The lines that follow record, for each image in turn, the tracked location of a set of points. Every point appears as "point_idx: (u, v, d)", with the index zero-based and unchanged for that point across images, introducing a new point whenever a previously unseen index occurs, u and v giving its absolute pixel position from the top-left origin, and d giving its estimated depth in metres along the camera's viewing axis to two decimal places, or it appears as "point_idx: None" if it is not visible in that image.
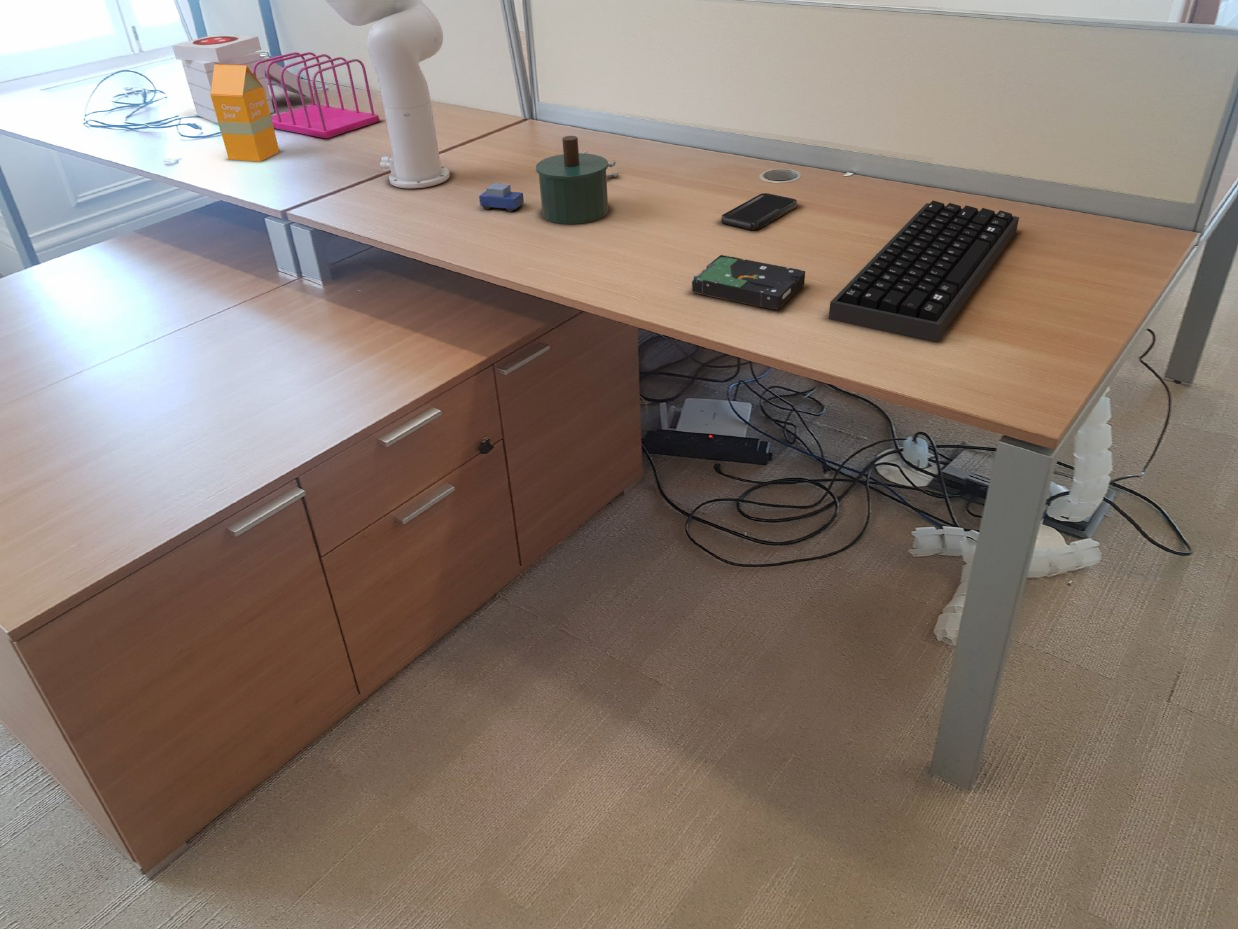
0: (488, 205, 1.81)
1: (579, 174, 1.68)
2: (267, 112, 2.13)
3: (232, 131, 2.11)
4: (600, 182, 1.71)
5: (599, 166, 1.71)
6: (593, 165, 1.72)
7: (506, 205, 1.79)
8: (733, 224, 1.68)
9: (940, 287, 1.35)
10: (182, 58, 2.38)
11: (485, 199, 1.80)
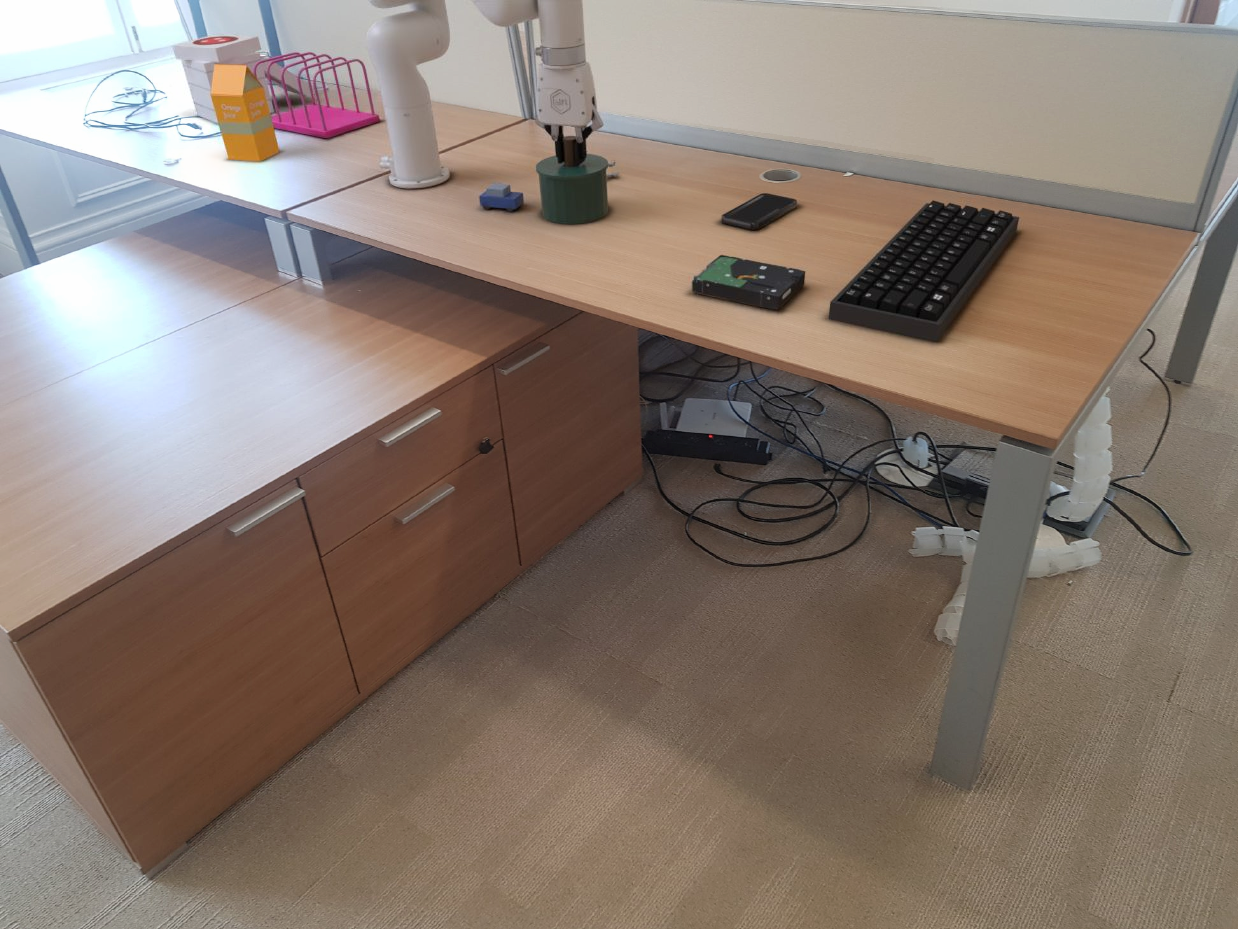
0: (488, 205, 1.81)
1: (579, 174, 1.68)
2: (267, 112, 2.13)
3: (232, 131, 2.11)
4: (600, 182, 1.71)
5: (599, 166, 1.71)
6: (593, 165, 1.72)
7: (506, 205, 1.79)
8: (733, 224, 1.68)
9: (940, 287, 1.35)
10: (182, 58, 2.38)
11: (485, 199, 1.80)
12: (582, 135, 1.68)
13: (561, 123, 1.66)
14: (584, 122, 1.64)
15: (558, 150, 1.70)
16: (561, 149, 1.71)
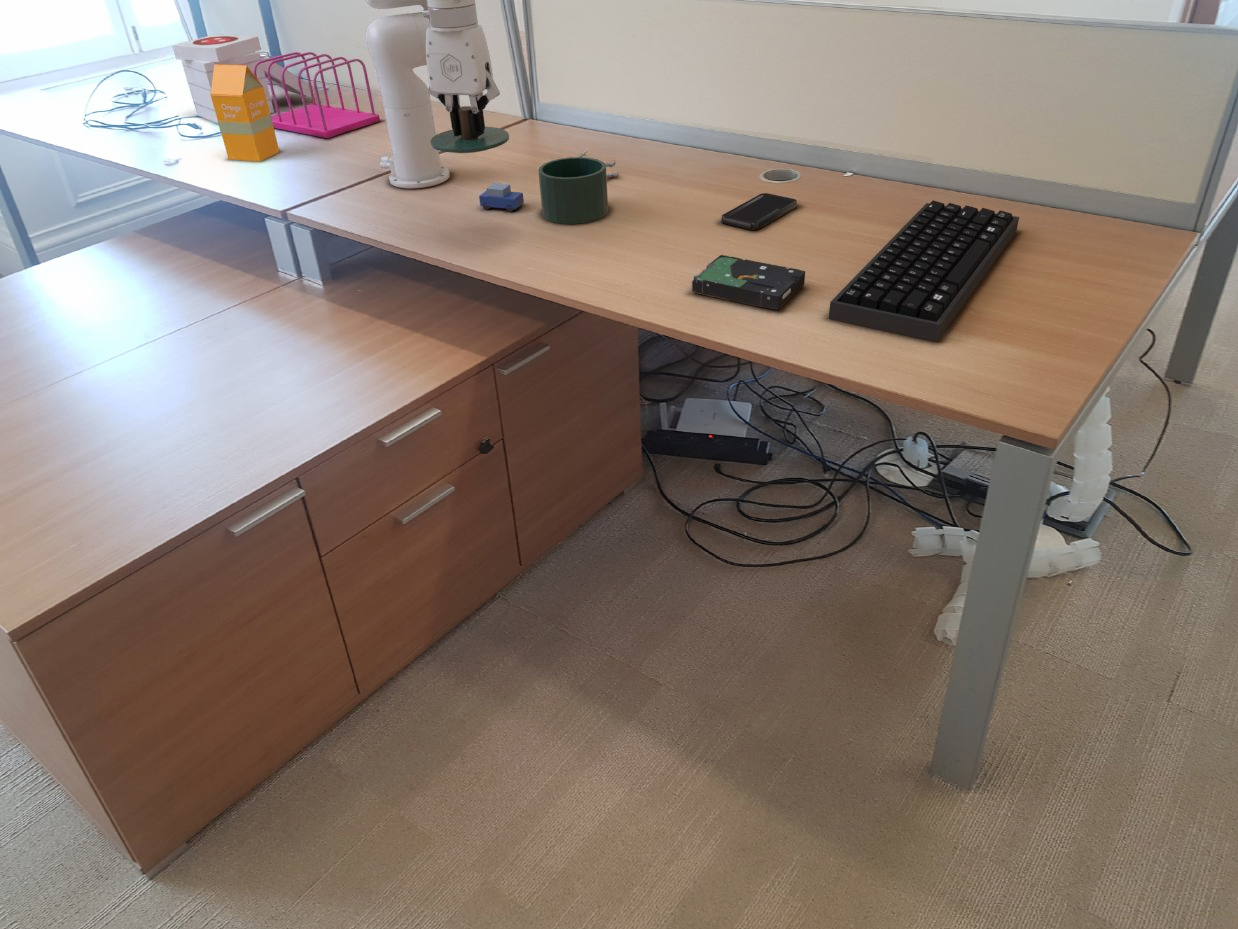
0: (488, 205, 1.81)
1: (474, 147, 1.55)
2: (267, 112, 2.13)
3: (232, 131, 2.11)
4: (600, 182, 1.71)
5: (497, 139, 1.58)
6: (492, 138, 1.59)
7: (506, 205, 1.79)
8: (733, 224, 1.68)
9: (940, 287, 1.35)
10: (182, 58, 2.38)
11: (485, 199, 1.80)
12: (477, 105, 1.55)
13: (453, 92, 1.53)
14: (477, 90, 1.52)
15: (453, 122, 1.58)
16: (457, 121, 1.58)
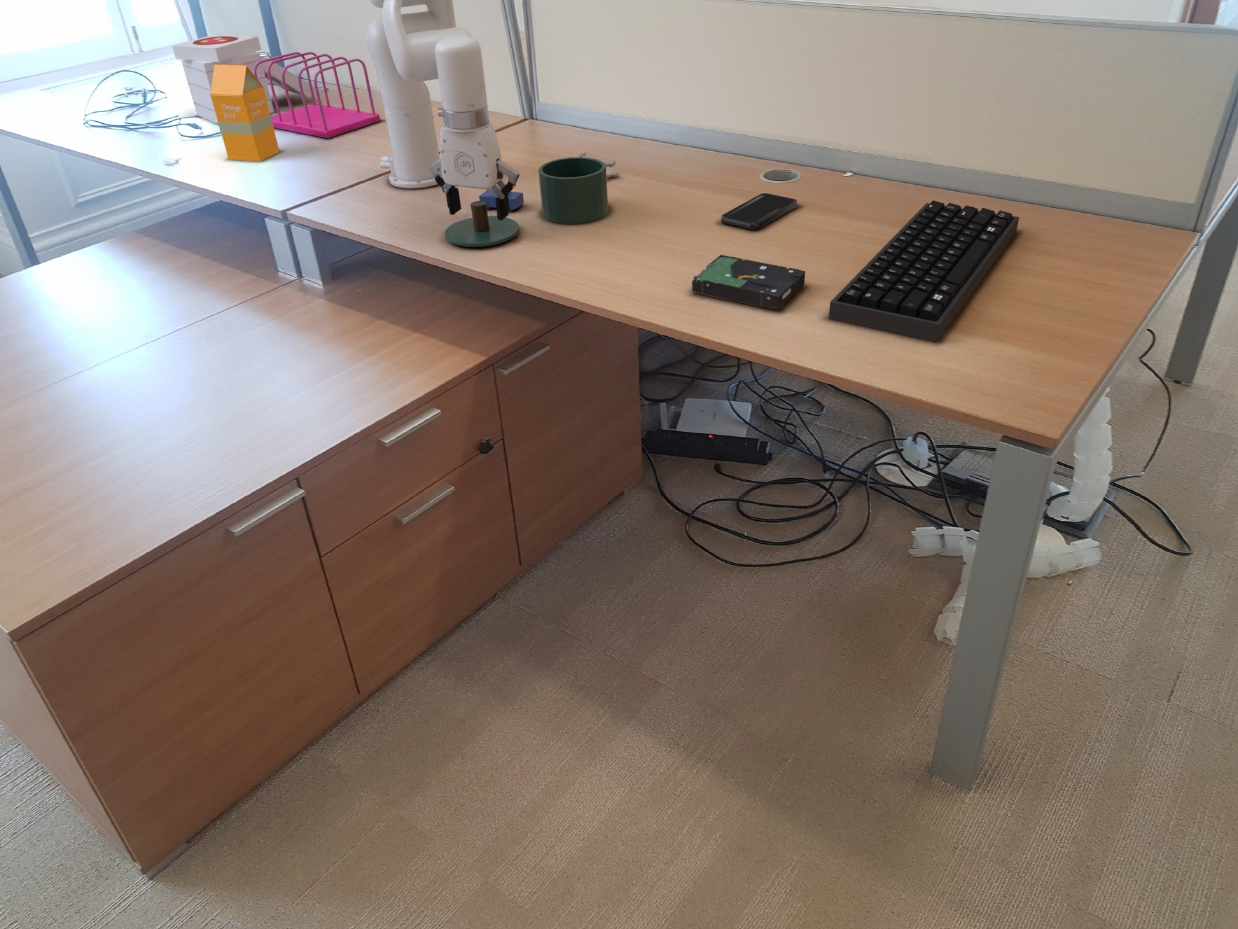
0: (488, 205, 1.81)
1: (486, 241, 1.65)
2: (267, 112, 2.13)
3: (232, 131, 2.11)
4: (600, 182, 1.71)
5: (508, 232, 1.68)
6: (503, 230, 1.68)
7: None
8: (733, 224, 1.68)
9: (940, 287, 1.35)
10: (182, 58, 2.38)
11: (485, 199, 1.80)
12: (500, 190, 1.63)
13: (466, 185, 1.63)
14: (488, 185, 1.61)
15: (449, 202, 1.67)
16: (452, 201, 1.68)
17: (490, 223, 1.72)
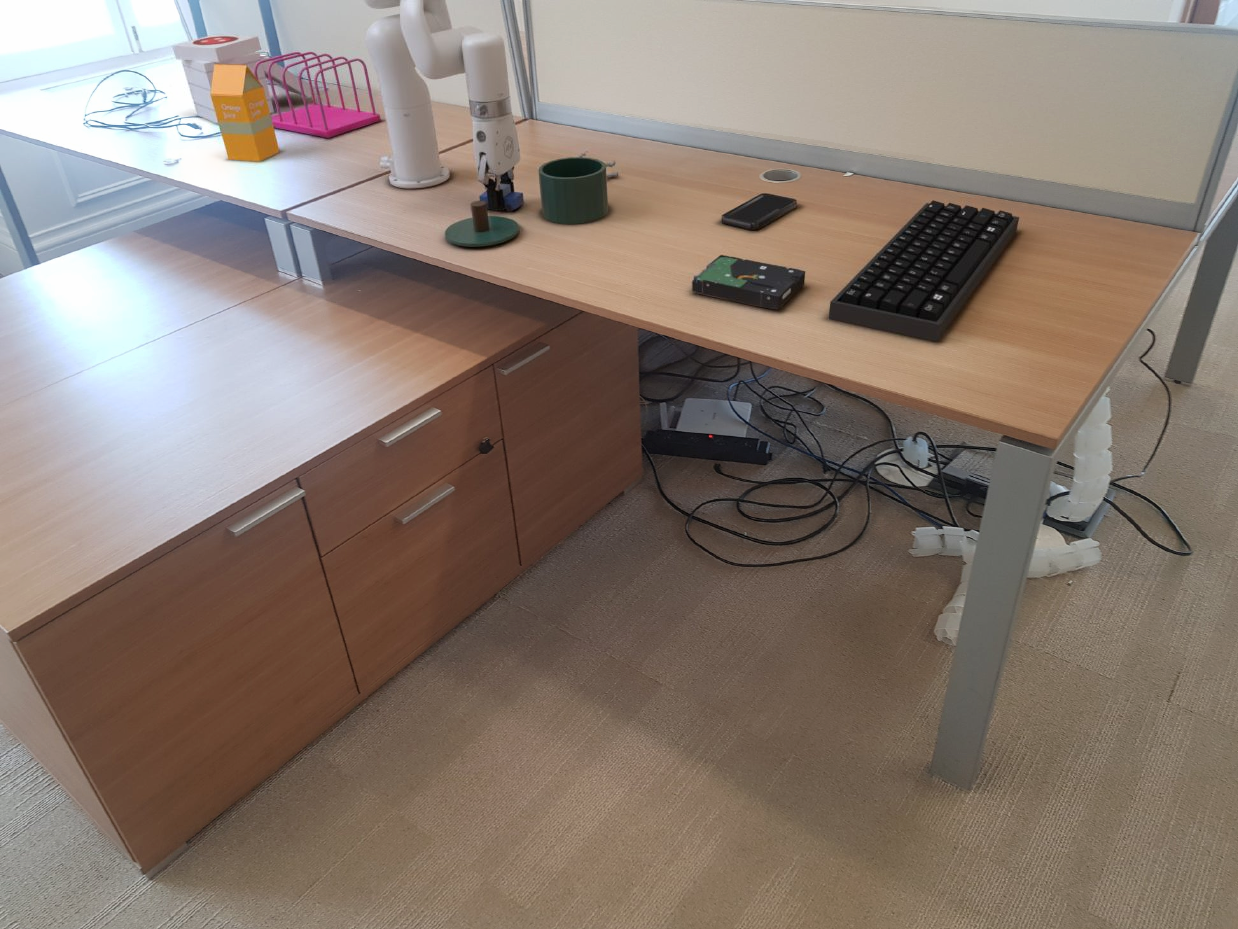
0: None
1: (486, 241, 1.65)
2: (267, 112, 2.13)
3: (232, 131, 2.11)
4: (600, 182, 1.71)
5: (508, 232, 1.68)
6: (503, 230, 1.68)
7: (506, 205, 1.79)
8: (733, 224, 1.68)
9: (940, 287, 1.35)
10: (182, 58, 2.38)
11: (485, 199, 1.80)
12: None
13: (510, 167, 1.76)
14: (519, 158, 1.79)
15: (502, 197, 1.78)
16: None
17: (490, 223, 1.72)
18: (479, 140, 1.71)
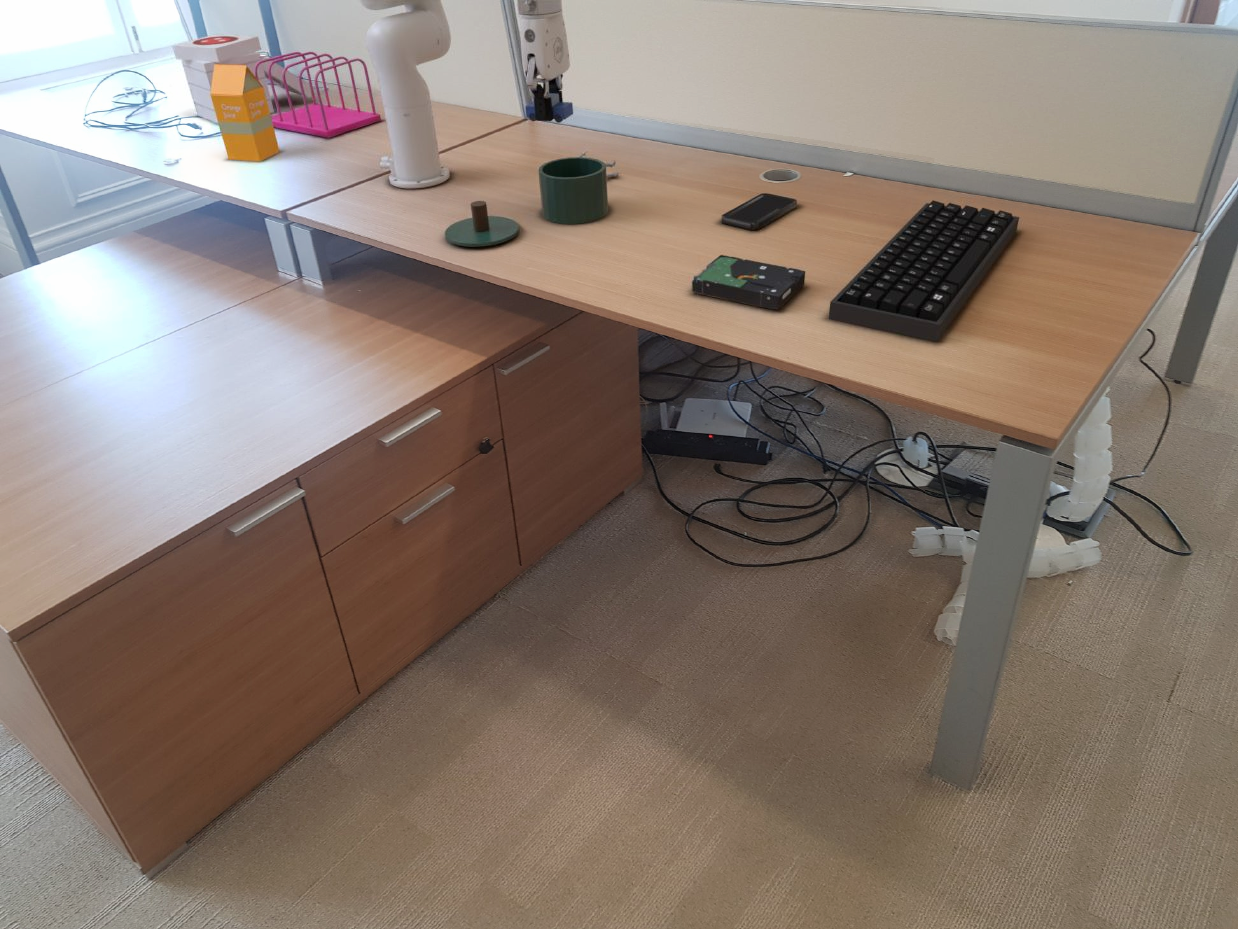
0: (535, 116, 1.68)
1: (486, 241, 1.65)
2: (267, 112, 2.13)
3: (232, 131, 2.11)
4: (600, 182, 1.71)
5: (508, 232, 1.68)
6: (503, 230, 1.68)
7: (555, 115, 1.66)
8: (733, 224, 1.68)
9: (940, 287, 1.35)
10: (182, 58, 2.38)
11: (532, 109, 1.67)
12: None
13: (560, 73, 1.63)
14: (569, 65, 1.66)
15: (551, 106, 1.65)
16: None
17: (490, 223, 1.72)
18: (527, 40, 1.58)
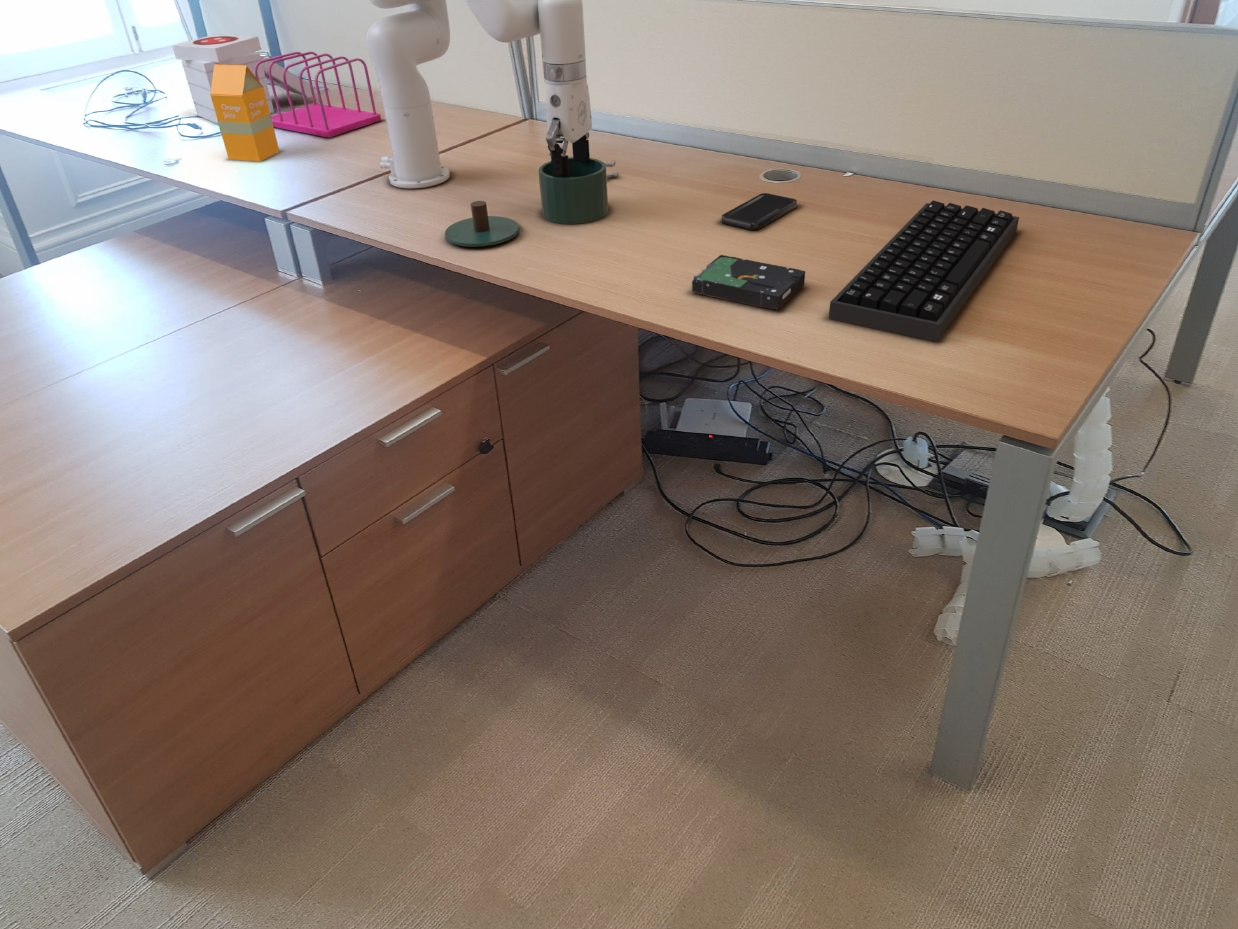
0: None
1: (486, 241, 1.65)
2: (267, 112, 2.13)
3: (232, 131, 2.11)
4: (600, 182, 1.71)
5: (508, 232, 1.68)
6: (503, 230, 1.68)
7: None
8: (733, 224, 1.68)
9: (940, 287, 1.35)
10: (182, 58, 2.38)
11: None
12: None
13: (583, 134, 1.69)
14: (591, 125, 1.72)
15: (568, 164, 1.68)
16: None
17: (490, 223, 1.72)
18: (553, 105, 1.63)
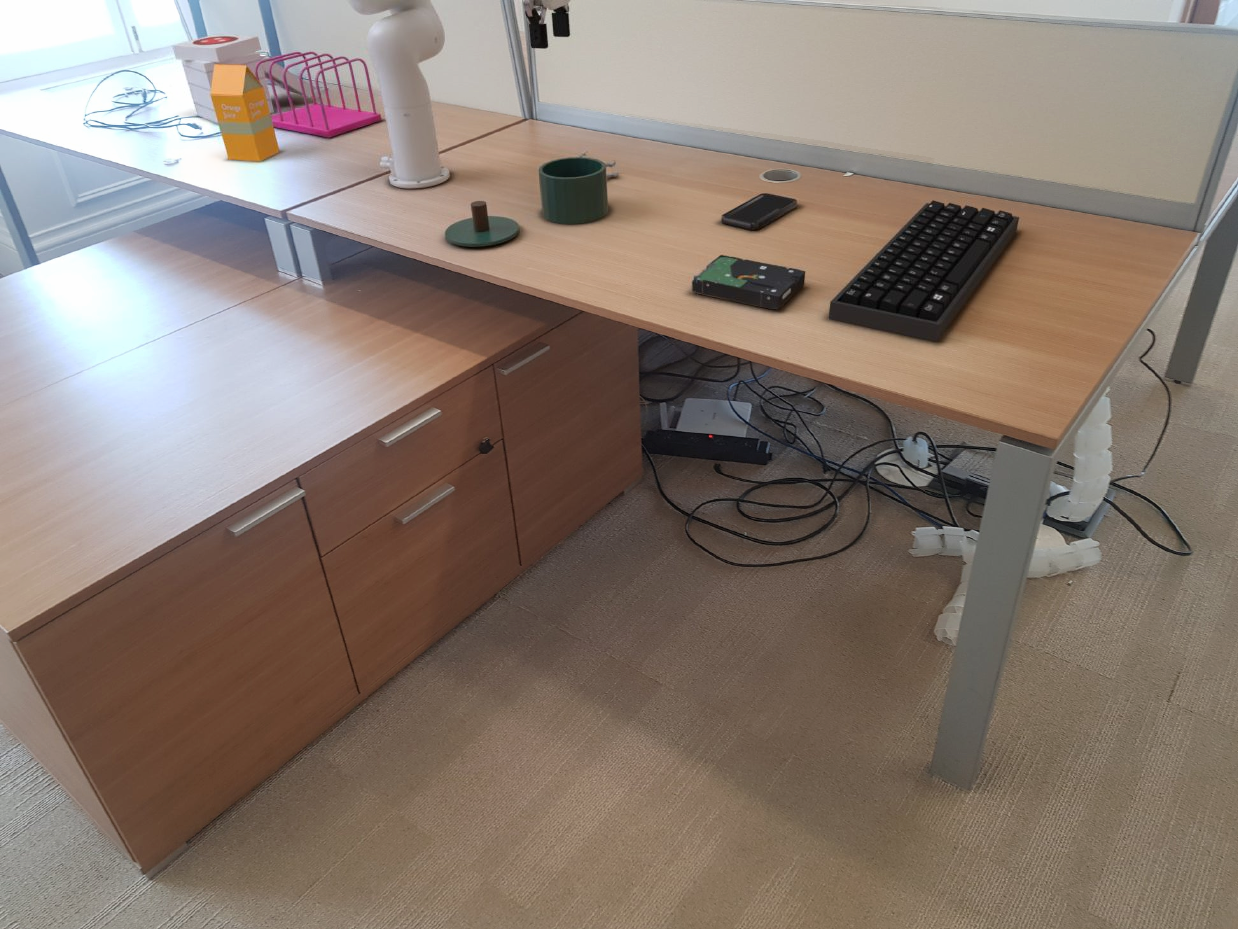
0: None
1: (486, 241, 1.65)
2: (267, 112, 2.13)
3: (232, 131, 2.11)
4: (600, 182, 1.71)
5: (508, 232, 1.68)
6: (503, 230, 1.68)
7: None
8: (733, 224, 1.68)
9: (940, 287, 1.35)
10: (182, 58, 2.38)
11: None
12: (566, 3, 1.70)
13: (561, 3, 1.65)
14: None
15: (546, 33, 1.64)
16: None
17: (490, 223, 1.72)
18: None
